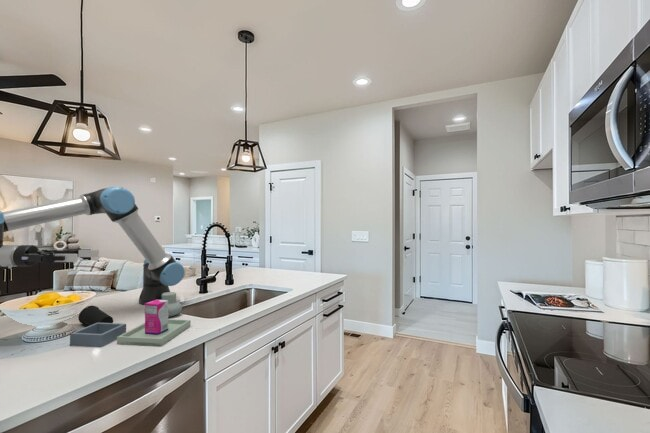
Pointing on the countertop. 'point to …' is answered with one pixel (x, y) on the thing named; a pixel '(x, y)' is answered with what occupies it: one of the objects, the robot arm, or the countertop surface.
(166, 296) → the grey knobbed rounded piece
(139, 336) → the tray
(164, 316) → the supplement box
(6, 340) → the countertop surface
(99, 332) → the grey storage bin
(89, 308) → the drinking cup
